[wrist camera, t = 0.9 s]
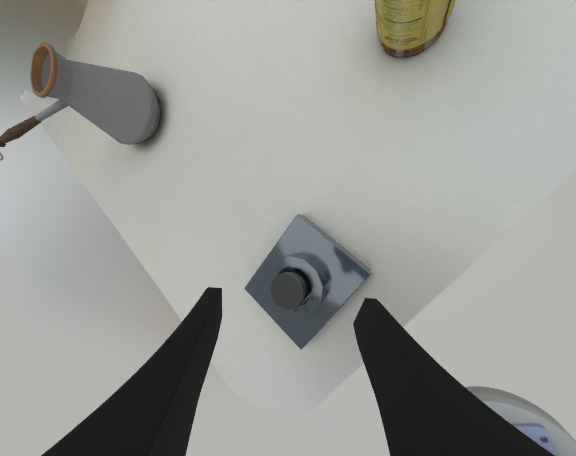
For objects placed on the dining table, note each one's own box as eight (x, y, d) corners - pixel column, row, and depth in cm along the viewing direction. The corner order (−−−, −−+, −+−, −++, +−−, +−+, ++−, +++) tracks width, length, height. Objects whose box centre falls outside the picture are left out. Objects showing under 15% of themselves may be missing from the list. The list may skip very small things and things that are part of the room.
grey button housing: (303, 215, 26) (290, 213, 23) (371, 270, 23) (369, 278, 20) (252, 284, 29) (234, 293, 26) (306, 341, 26) (294, 360, 23)
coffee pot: (149, 69, 38) (15, -19, 24) (177, 114, 35) (44, 43, 21) (97, 155, 45) (-29, 125, 31) (117, 197, 42) (-11, 184, 28)
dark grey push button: (291, 262, 23) (283, 265, 21) (316, 285, 22) (310, 291, 20) (273, 286, 24) (263, 291, 22) (296, 309, 23) (288, 317, 21)
